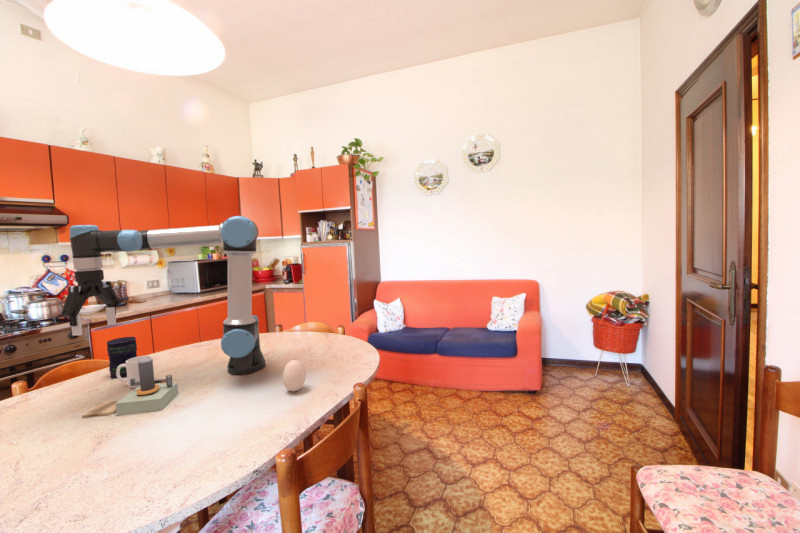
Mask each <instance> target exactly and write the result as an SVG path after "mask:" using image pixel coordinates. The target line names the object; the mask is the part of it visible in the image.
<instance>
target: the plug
mask: <svg viewBox="0 0 800 533" xmlns="http://www.w3.org/2000/svg"><path fill="white" fill-rule="evenodd" d="M153 362H154V361H153V357H152V358H145V359H141V360H139V361H138V367H139V377H140V387H141V388H140V389H138V390H137V391H136V392H137V395H141V396H146V395H153V394H154V393H155V392H156V391H158V390H159V385H160V384H155V381H154V380H155V373H154V365H153V364H154V363H153Z"/></svg>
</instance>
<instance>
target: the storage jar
mask: <svg viewBox="0 0 800 533" xmlns="http://www.w3.org/2000/svg"><path fill="white" fill-rule="evenodd" d="M136 339H137V338H136V336H125V337H118V338H114V339H111V340H108V341H107V342H106V346H107V349H106V350H107V356H108V359H109V365H108V366H109V374H110V375H109V376H110V378H111V379H115V380H118V378H117V375H116V370H117V367H118V366H119V365H121V364H126V361H127V360H128V359H131V358H134V357H138V354H137V351H138V348H137V347H138V345H137V341H136ZM120 376H121V378H123V379H125V378H127V370H126V367H121V369H120Z"/></svg>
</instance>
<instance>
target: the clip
mask: <svg viewBox="0 0 800 533" xmlns="http://www.w3.org/2000/svg"><path fill="white" fill-rule="evenodd" d="M154 381H155V385H158V384H167V387H171V386H173V383H174V382H173V375H172V374H167V375H165V378H158V379H154ZM130 385H131V386H137V385H140V381H139V382H135V378H133V379H130Z"/></svg>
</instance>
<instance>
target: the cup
mask: <svg viewBox="0 0 800 533" xmlns="http://www.w3.org/2000/svg"><path fill="white" fill-rule="evenodd" d="M145 358H152V359H153V357H152V355H141V356H140V355H139V356H137V357H134V358H131V359H128V360H127V361H126V364H121V365H119V366H118V367H117V370H116V375H117V378H118V379H117V380H119V381H120V382H121V383H127V386H128V387H129V388H132V389H135V388H137V387H140V385H137V386H131V385H130V379H133V378H135V382H139V381H140V377H139V367H138V361H139V360H141V359H145ZM121 367H126V370H127V377H126V378H121V376H120V369H121Z"/></svg>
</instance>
